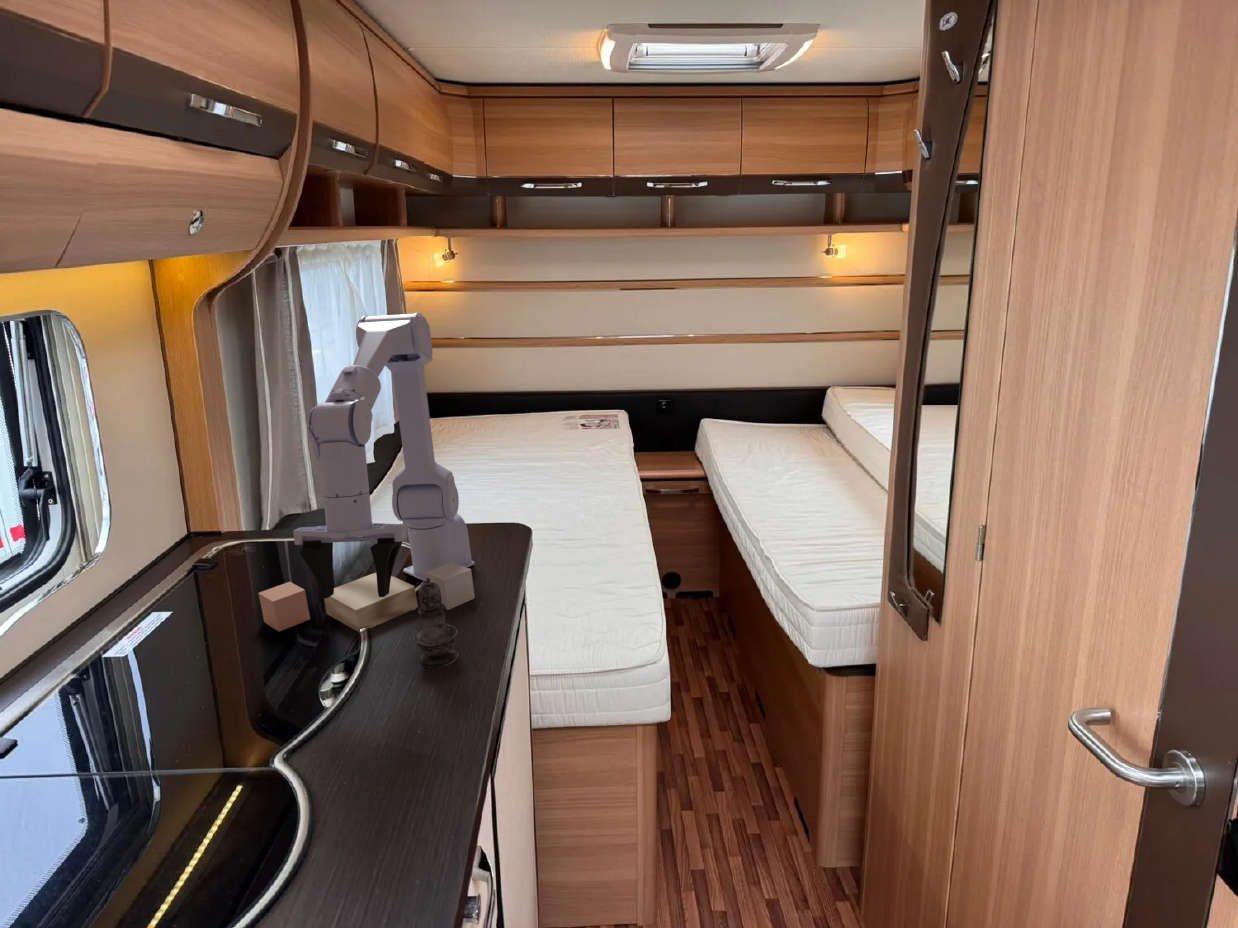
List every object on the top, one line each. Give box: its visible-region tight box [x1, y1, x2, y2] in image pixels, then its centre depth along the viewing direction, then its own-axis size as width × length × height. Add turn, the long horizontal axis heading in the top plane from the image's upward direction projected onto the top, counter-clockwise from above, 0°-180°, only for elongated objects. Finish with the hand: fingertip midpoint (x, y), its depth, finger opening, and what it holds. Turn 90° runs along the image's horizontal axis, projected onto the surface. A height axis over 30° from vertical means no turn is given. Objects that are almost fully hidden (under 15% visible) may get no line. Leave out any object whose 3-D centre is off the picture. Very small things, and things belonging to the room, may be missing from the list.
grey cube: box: [426, 562, 475, 610], centre depth 135 cm, size 5×5×5 cm
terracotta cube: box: [258, 581, 311, 632], centre depth 131 cm, size 5×5×5 cm
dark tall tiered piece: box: [413, 577, 460, 669], centre depth 116 cm, size 6×6×12 cm
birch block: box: [323, 572, 419, 633], centre depth 133 cm, size 10×10×4 cm
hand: (356, 595), depth 114 cm, fingers open, 7 cm apart
